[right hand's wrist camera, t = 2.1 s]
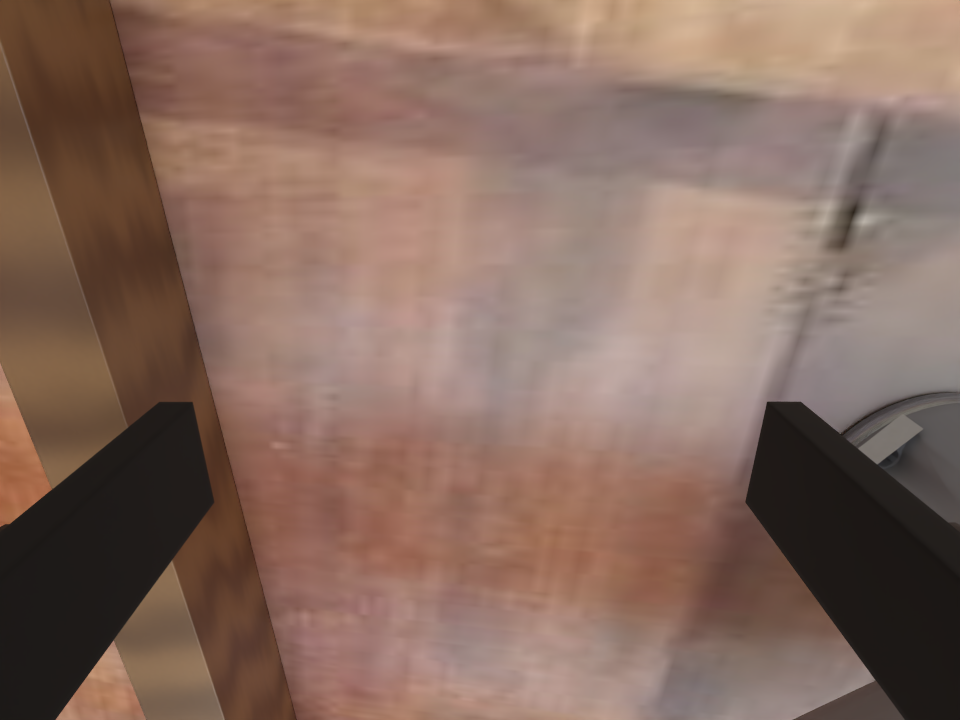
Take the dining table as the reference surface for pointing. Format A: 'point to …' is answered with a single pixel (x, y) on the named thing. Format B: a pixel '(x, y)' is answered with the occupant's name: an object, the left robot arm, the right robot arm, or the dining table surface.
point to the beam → (118, 346)
